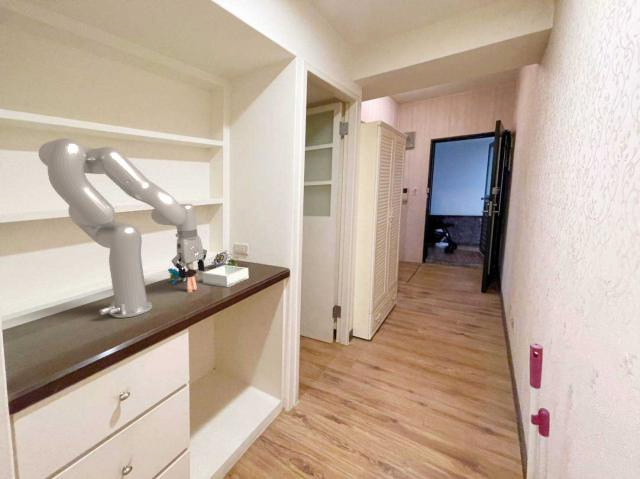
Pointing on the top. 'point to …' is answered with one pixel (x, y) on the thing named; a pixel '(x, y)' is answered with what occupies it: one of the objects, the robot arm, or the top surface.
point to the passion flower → (224, 259)
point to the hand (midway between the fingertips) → (192, 274)
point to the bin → (225, 275)
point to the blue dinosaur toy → (174, 275)
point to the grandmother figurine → (190, 277)
